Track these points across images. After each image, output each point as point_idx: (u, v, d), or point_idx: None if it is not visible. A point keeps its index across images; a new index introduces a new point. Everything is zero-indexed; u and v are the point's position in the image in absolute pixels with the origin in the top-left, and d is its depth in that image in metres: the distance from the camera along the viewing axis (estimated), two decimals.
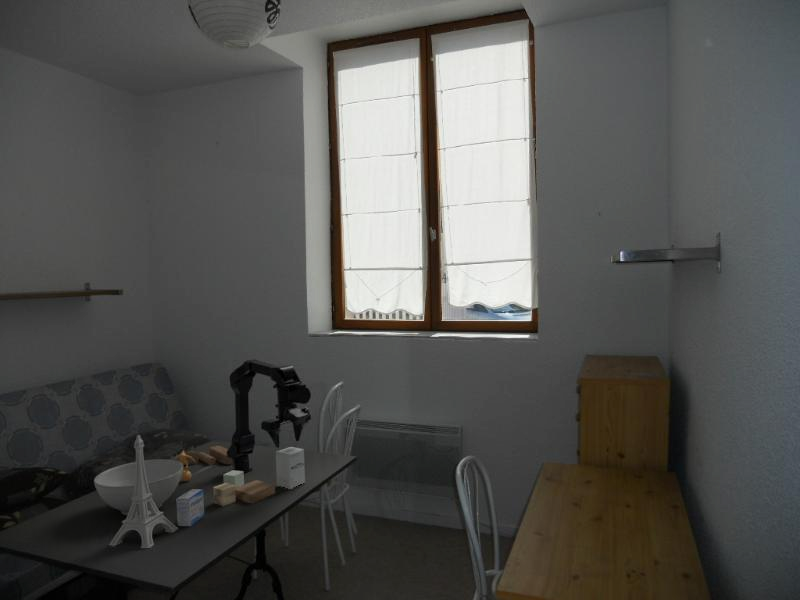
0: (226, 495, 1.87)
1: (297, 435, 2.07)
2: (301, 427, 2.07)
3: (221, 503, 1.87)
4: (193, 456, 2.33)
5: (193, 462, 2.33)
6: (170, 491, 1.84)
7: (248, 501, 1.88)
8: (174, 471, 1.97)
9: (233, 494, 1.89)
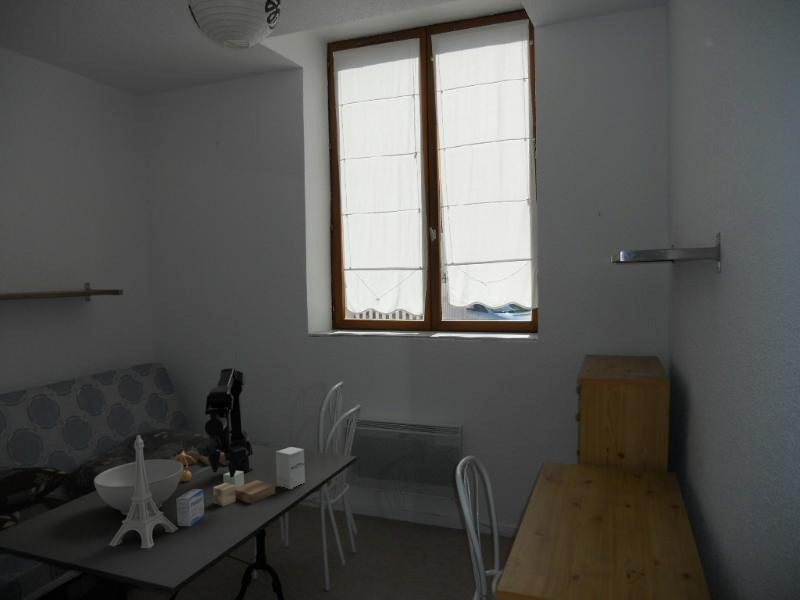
0: (226, 495, 1.87)
1: None
2: (229, 463, 1.85)
3: (221, 503, 1.87)
4: (192, 456, 2.32)
5: (192, 462, 2.32)
6: (170, 491, 1.84)
7: (248, 501, 1.88)
8: (174, 471, 1.97)
9: (233, 494, 1.89)
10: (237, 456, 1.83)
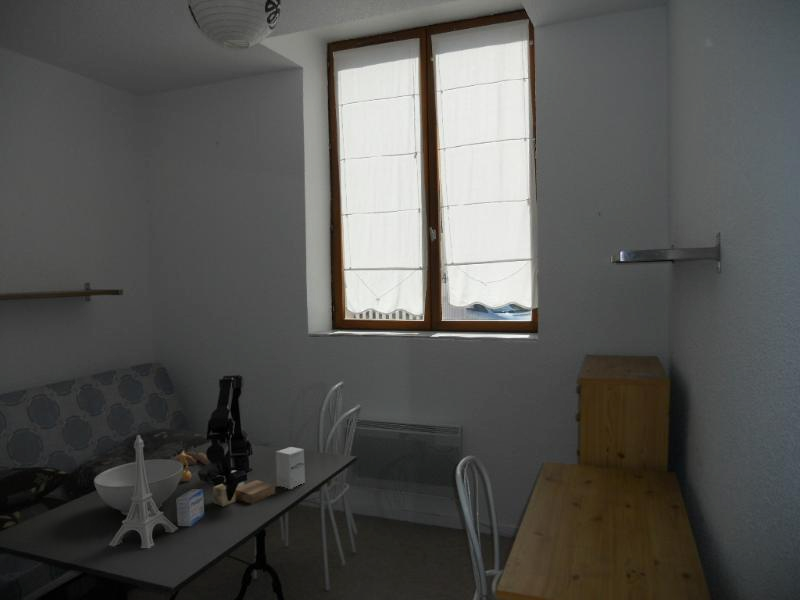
0: (226, 494, 1.87)
1: None
2: (226, 487, 1.86)
3: (221, 503, 1.87)
4: (192, 457, 2.32)
5: (192, 463, 2.32)
6: (170, 491, 1.84)
7: (248, 501, 1.88)
8: (174, 471, 1.97)
9: None
10: (238, 481, 1.83)
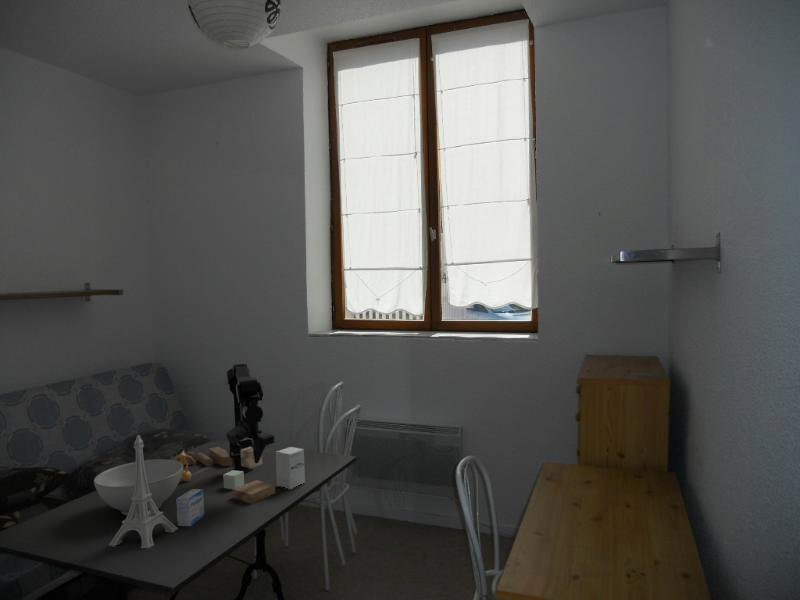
0: (253, 457, 1.91)
1: None
2: (254, 450, 1.90)
3: (248, 465, 1.91)
4: None
5: (191, 463, 2.31)
6: (170, 491, 1.84)
7: (248, 501, 1.88)
8: (174, 471, 1.97)
9: None
10: (266, 443, 1.87)
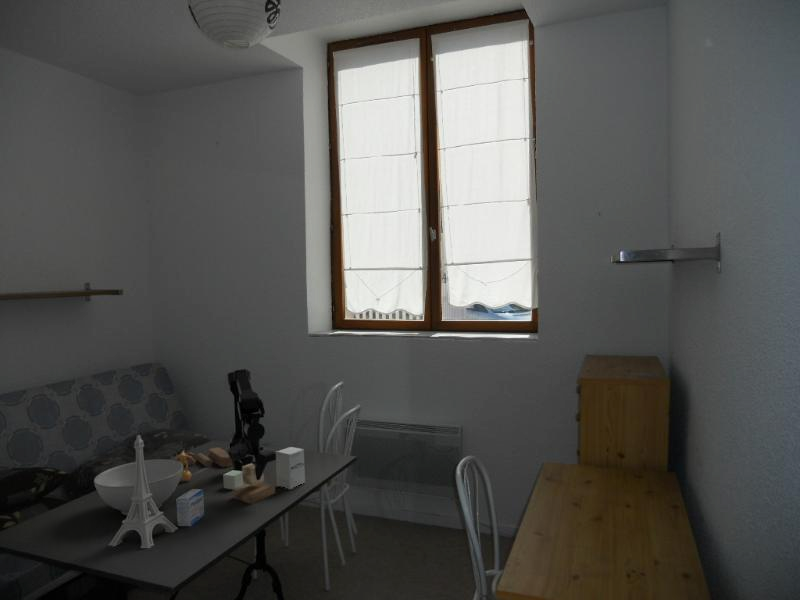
0: (255, 474, 1.92)
1: None
2: (255, 467, 1.91)
3: (250, 482, 1.91)
4: None
5: (190, 463, 2.31)
6: (170, 491, 1.84)
7: (248, 501, 1.88)
8: (174, 471, 1.97)
9: None
10: (268, 460, 1.88)
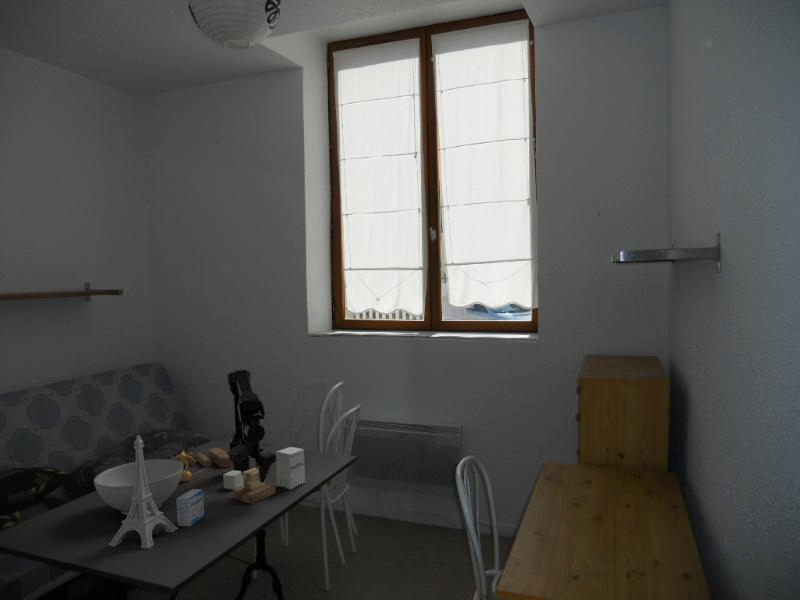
0: (255, 479, 1.92)
1: None
2: (259, 469, 1.90)
3: (251, 487, 1.91)
4: (190, 458, 2.31)
5: (190, 464, 2.31)
6: (170, 491, 1.84)
7: (248, 501, 1.88)
8: (174, 471, 1.97)
9: None
10: (268, 462, 1.88)
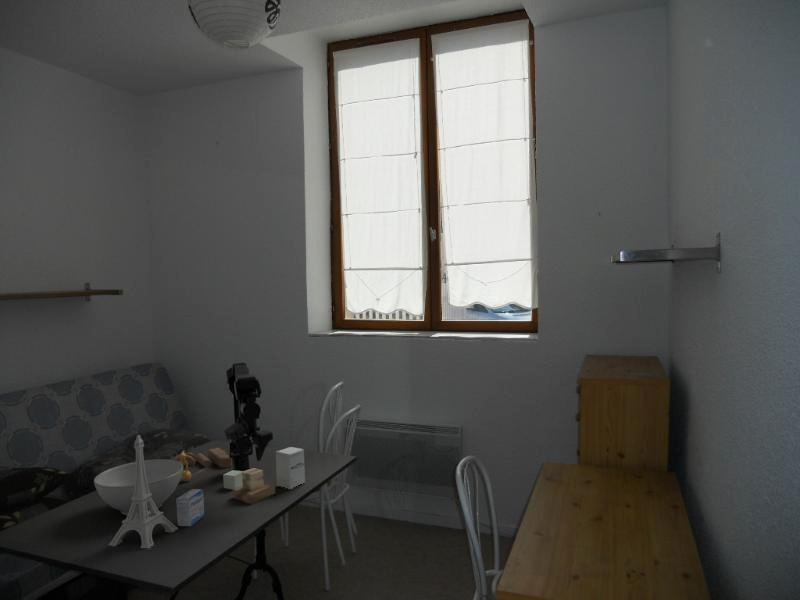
0: (254, 479, 1.92)
1: None
2: (256, 447, 1.89)
3: (250, 487, 1.91)
4: (190, 458, 2.30)
5: (190, 464, 2.31)
6: (170, 491, 1.84)
7: (248, 501, 1.88)
8: (174, 471, 1.97)
9: (261, 479, 1.94)
10: (264, 440, 1.88)
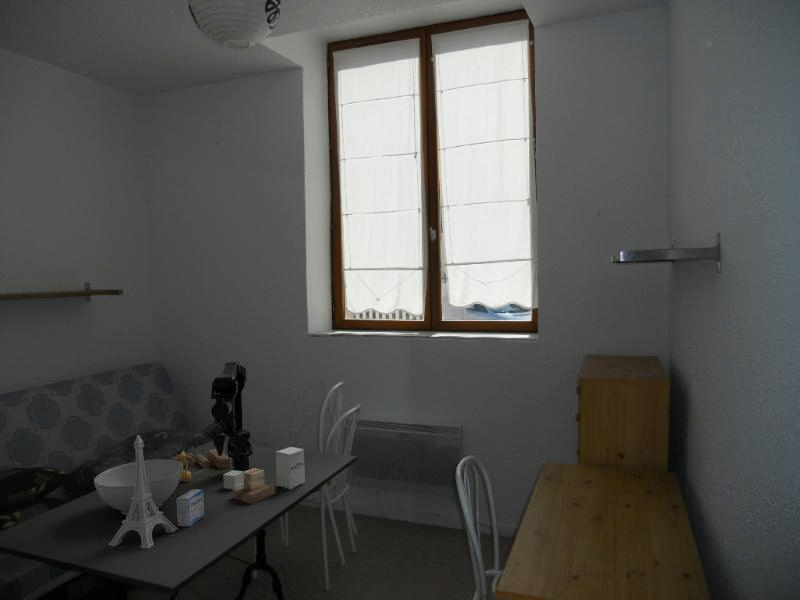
0: (255, 479, 1.92)
1: None
2: (233, 446, 1.91)
3: (251, 487, 1.91)
4: (189, 458, 2.30)
5: (189, 464, 2.30)
6: (170, 491, 1.84)
7: (248, 502, 1.88)
8: (174, 471, 1.97)
9: (262, 479, 1.94)
10: (241, 439, 1.89)
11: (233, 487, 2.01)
